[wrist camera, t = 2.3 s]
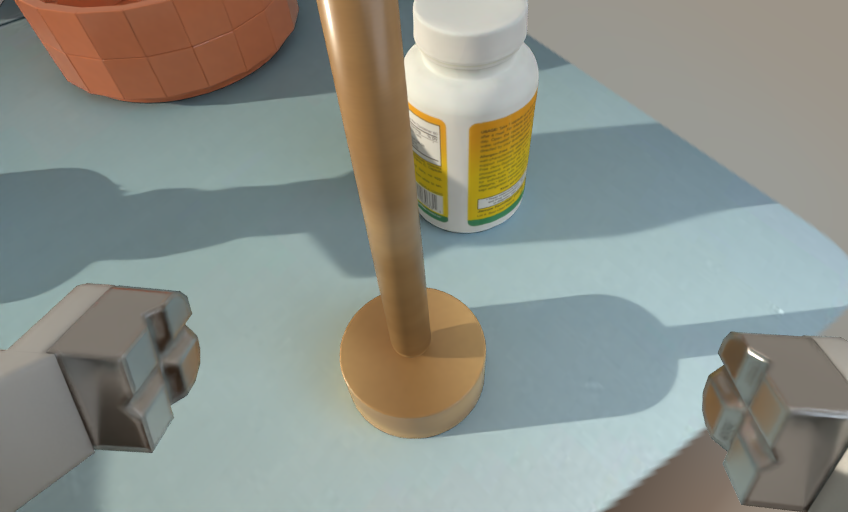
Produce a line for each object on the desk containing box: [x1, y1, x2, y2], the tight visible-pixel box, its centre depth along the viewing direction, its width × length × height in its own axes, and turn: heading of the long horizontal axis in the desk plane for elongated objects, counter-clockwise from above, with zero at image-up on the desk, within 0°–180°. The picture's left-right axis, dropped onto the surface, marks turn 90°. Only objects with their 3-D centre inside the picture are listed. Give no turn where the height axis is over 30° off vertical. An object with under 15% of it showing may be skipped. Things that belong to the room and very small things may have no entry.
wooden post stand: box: [316, 0, 486, 439], centre depth 14 cm, size 5×5×18 cm
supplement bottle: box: [404, 0, 539, 233], centre depth 23 cm, size 5×5×10 cm
